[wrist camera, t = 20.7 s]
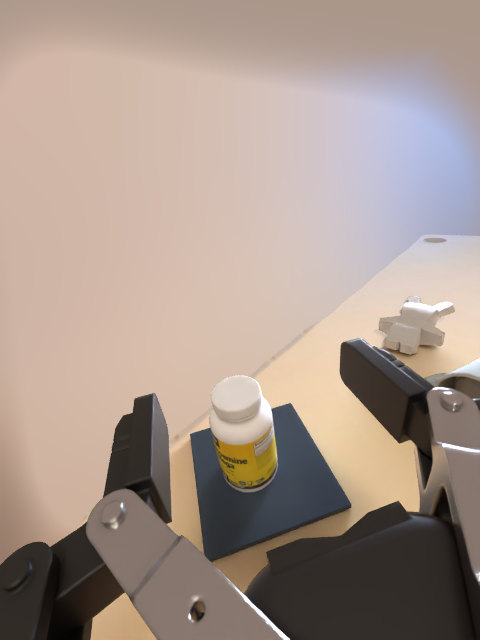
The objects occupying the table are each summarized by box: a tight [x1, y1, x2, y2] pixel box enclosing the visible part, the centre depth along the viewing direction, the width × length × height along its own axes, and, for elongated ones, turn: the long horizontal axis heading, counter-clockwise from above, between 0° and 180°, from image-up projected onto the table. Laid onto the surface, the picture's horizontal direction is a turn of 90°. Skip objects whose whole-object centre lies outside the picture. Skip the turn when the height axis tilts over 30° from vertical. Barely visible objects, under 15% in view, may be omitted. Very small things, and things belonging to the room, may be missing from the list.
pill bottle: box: [209, 376, 278, 493], centre depth 28 cm, size 6×6×11 cm
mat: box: [190, 403, 351, 562], centre depth 31 cm, size 14×14×1 cm
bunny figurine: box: [379, 296, 455, 355], centre depth 48 cm, size 10×5×15 cm
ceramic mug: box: [425, 359, 480, 399], centre depth 32 cm, size 11×8×8 cm
